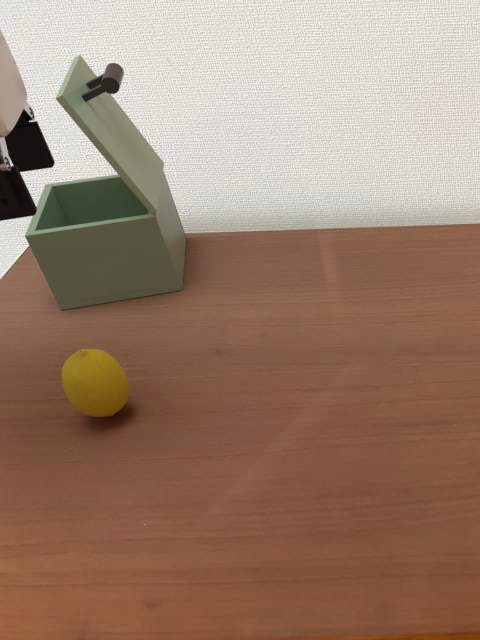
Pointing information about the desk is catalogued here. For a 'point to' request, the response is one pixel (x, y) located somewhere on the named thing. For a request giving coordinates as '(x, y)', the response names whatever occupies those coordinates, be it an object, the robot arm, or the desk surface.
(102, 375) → the lemon
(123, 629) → the desk surface
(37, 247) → the chest
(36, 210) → the robot arm
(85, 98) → the lid
